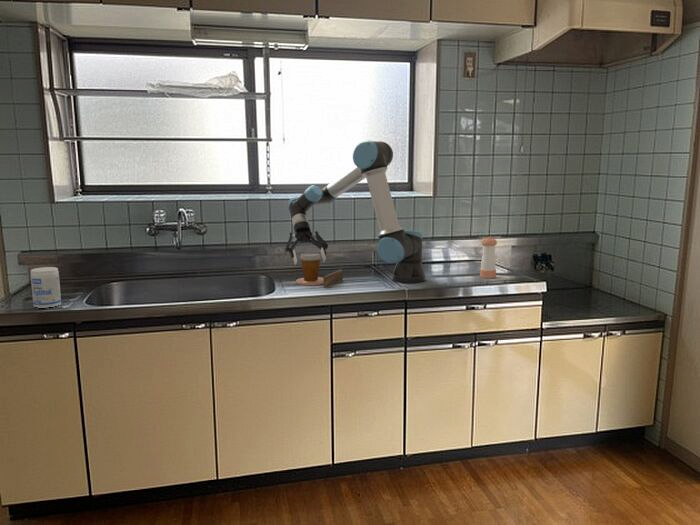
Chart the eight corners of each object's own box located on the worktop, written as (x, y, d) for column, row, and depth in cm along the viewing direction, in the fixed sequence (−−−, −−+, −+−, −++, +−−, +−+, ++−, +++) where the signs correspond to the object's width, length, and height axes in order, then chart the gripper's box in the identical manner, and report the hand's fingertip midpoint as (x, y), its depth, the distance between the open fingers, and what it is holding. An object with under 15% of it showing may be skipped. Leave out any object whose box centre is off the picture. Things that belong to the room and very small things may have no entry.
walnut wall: (342, 280, 255) (342, 269, 254) (326, 287, 241) (326, 276, 240) (340, 280, 256) (339, 269, 255) (323, 287, 241) (323, 276, 240)
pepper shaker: (486, 279, 256) (488, 238, 253) (476, 276, 263) (478, 236, 259) (498, 277, 259) (500, 237, 255) (489, 274, 266) (490, 235, 262)
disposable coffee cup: (322, 278, 258) (322, 252, 255) (319, 282, 248) (319, 256, 246) (302, 277, 259) (301, 252, 256) (298, 282, 249) (298, 255, 247)
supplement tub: (32, 310, 208) (27, 272, 205) (35, 304, 216) (30, 267, 213) (61, 307, 212) (57, 270, 209) (62, 301, 220) (58, 265, 217)
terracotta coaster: (334, 279, 256) (334, 278, 256) (318, 286, 243) (318, 285, 243) (306, 277, 263) (306, 275, 263) (289, 283, 249) (289, 282, 249)
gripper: (324, 229, 270) (334, 264, 259) (274, 231, 262) (282, 268, 251) (327, 219, 264) (338, 255, 253) (276, 221, 256) (284, 258, 245)
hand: (310, 261), depth 252 cm, fingers open, 13 cm apart
